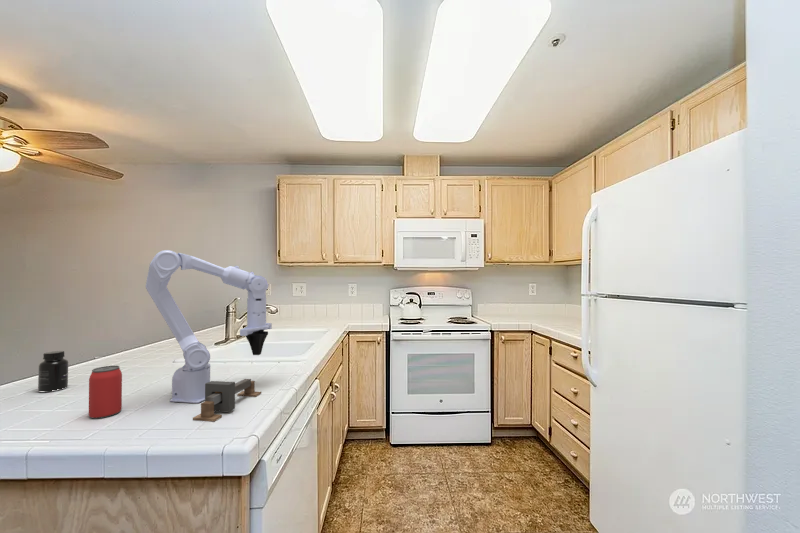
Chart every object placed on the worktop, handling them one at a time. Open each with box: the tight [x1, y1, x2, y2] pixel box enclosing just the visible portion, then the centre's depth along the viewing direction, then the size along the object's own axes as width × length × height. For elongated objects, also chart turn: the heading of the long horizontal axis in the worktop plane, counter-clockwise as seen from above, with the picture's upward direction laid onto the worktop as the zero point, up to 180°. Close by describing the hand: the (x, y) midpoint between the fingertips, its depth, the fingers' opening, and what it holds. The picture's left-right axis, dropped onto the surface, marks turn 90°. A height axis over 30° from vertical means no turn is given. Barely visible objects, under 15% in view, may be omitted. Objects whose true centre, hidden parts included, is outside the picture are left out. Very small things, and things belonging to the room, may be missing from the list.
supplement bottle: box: [37, 350, 69, 392], centre depth 112 cm, size 7×7×12 cm
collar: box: [204, 380, 236, 413], centre depth 91 cm, size 7×2×7 cm, turn 80°
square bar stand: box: [192, 378, 262, 422], centre depth 95 cm, size 6×20×5 cm, turn 170°
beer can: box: [88, 365, 123, 419], centre depth 91 cm, size 7×7×12 cm
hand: (256, 354), depth 112 cm, fingers closed
